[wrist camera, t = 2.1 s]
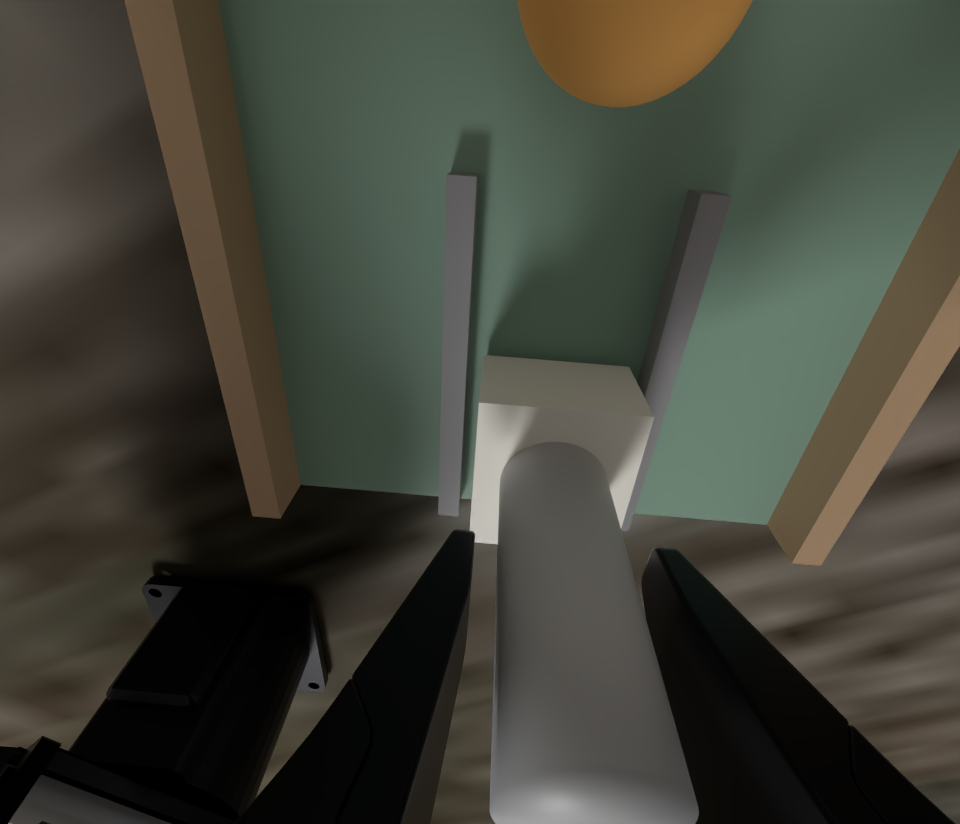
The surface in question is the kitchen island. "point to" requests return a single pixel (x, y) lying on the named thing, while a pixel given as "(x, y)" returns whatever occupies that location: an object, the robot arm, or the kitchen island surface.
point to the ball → (627, 44)
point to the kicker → (571, 602)
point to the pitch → (566, 242)
